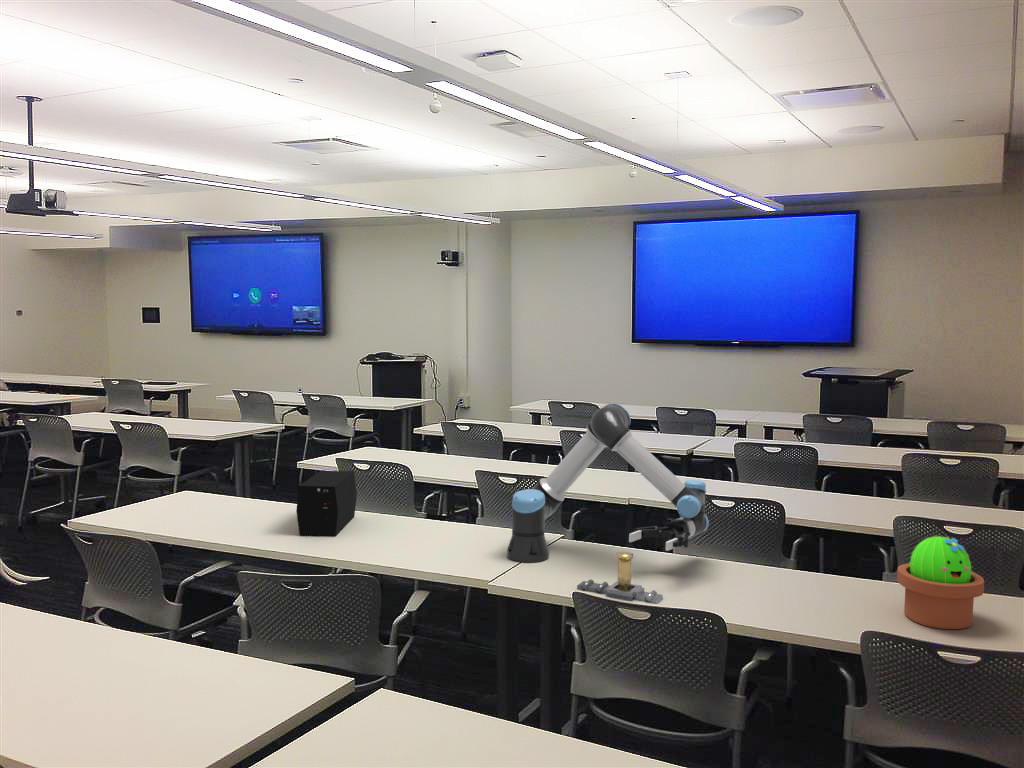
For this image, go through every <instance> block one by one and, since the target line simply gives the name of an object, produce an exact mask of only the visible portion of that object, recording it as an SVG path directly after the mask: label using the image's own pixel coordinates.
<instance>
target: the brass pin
mask: <svg viewBox="0 0 1024 768" xmlns="http://www.w3.org/2000/svg"><path fill="white" fill-rule="evenodd" d="M616 558H617V559H618V561H617V562H618V565H617V566H618V567H617V581H618V589H620V590H626V591H630V590H631V584H632V582H631V581H632V559H634V553H632V552H630V551H618V552H616Z"/></svg>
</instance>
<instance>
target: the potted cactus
mask: <svg viewBox="0 0 1024 768" xmlns="http://www.w3.org/2000/svg"><path fill="white" fill-rule="evenodd" d="M958 542H959V541H958V540H957V539H956V538H954V537H951V538H950V537H949V536H942V535H941V534H940V535H937V534H935V535H933V536H930V537H926V538H925V539H923V540H922V541H920V542H918V544H916V546H914V549H913V551H912V552H911V556H910V561H909V562H908V563H904V564H901V565H898V567H897V570H896V571H897V574H896V581H897V583H898V584H899V585H900V586H901V587H903V588H904V591H905V592H904V604H903V605H904V607H903V608H904V609H903V610H904V611H903V612H904V615H905V616H906V617H907V619H909V620H911V621H913V622H915V623H917V624H920V625H922V626H925V627H929V628H935V629H941V630H963V629H967V628H969V627H971V626H972V624H973V617H974V616H973V615H974V602H975V601H974V600H975V598H979V597H981V596H983V595H984V592H985V580H984V579H985V578H983V577H982V576H981V575H980V574H977V573H976V572H974V571H972V569H973V566H972V562H971V560H970V554H969V553H970V552H969V553H967V551H966V549H965V547H964V546H963V545H961V544H959V543H958Z"/></svg>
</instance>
